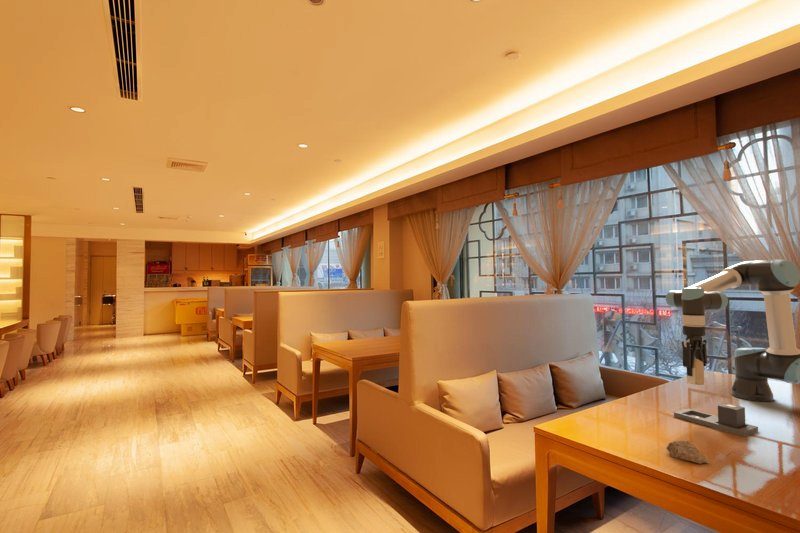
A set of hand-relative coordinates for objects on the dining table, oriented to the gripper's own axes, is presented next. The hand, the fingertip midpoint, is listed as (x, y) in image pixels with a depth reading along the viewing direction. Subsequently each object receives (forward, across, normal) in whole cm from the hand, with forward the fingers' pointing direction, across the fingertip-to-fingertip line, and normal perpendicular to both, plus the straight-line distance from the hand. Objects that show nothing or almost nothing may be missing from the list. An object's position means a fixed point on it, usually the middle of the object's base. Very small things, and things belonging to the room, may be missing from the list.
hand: (695, 382), depth 164 cm
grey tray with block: (+15, 0, +6) cm, 16 cm away
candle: (+1, 0, 0) cm, 1 cm away
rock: (+15, +40, +18) cm, 47 cm away
